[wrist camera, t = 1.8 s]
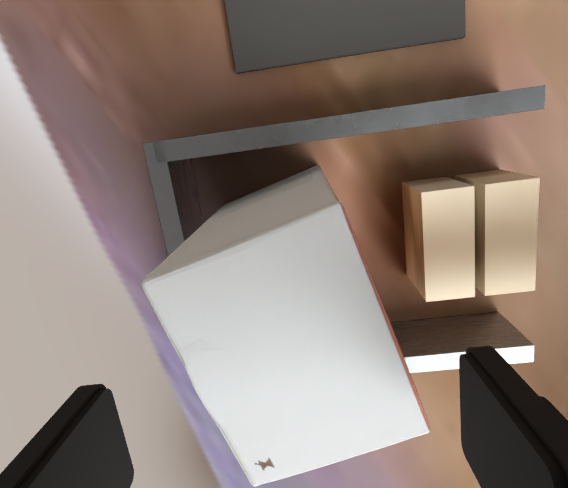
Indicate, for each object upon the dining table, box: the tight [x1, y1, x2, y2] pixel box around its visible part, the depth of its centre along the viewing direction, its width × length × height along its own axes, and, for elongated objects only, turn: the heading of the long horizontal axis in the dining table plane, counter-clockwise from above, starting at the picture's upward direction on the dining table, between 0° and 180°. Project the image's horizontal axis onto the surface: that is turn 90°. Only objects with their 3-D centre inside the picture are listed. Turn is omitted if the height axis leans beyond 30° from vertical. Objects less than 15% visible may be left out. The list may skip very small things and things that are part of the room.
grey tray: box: [142, 85, 545, 373], centre depth 22 cm, size 14×18×4 cm
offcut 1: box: [402, 177, 475, 302], centre depth 22 cm, size 6×2×4 cm, turn 8°
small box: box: [142, 165, 430, 487], centre depth 18 cm, size 8×6×13 cm
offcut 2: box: [455, 170, 540, 296], centre depth 21 cm, size 6×2×4 cm, turn 8°
